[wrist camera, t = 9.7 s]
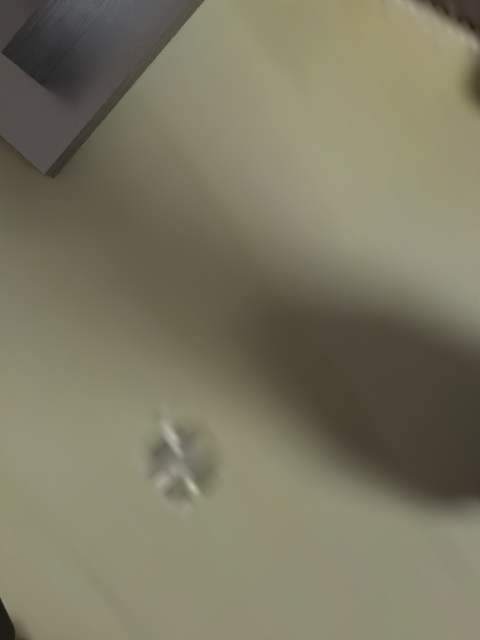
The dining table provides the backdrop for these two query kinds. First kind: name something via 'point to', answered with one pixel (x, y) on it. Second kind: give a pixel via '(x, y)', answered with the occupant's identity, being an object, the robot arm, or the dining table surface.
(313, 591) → the dining table surface
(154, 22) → the keeper bracket
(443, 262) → the dining table surface
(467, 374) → the dining table surface
